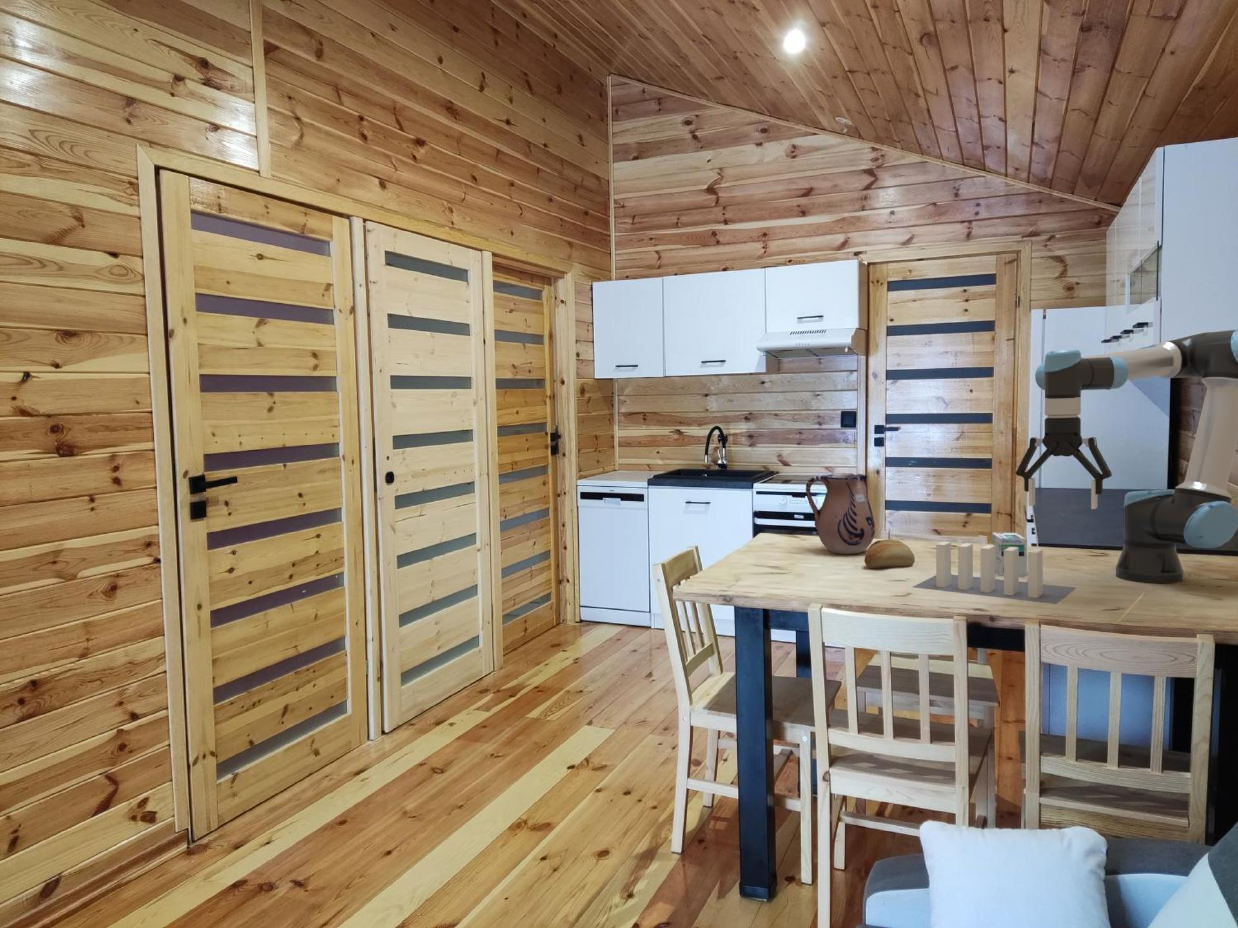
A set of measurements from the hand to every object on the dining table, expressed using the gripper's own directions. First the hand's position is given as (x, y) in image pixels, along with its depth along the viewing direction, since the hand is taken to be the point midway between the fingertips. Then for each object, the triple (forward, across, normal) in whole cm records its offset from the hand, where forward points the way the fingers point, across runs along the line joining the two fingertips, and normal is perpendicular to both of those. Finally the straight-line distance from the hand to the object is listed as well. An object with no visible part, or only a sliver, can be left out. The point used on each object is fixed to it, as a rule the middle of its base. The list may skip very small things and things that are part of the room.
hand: (1062, 507), depth 201 cm
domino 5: (+22, +6, 0) cm, 23 cm away
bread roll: (+23, +50, -17) cm, 58 cm away
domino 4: (+22, +11, 0) cm, 25 cm away
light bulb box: (+23, +19, -25) cm, 39 cm away
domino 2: (+22, +22, 0) cm, 31 cm away
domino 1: (+22, +28, 0) cm, 35 cm away
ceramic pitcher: (+23, +72, -31) cm, 82 cm away
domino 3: (+22, +17, 0) cm, 28 cm away
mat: (+22, +17, -4) cm, 28 cm away
